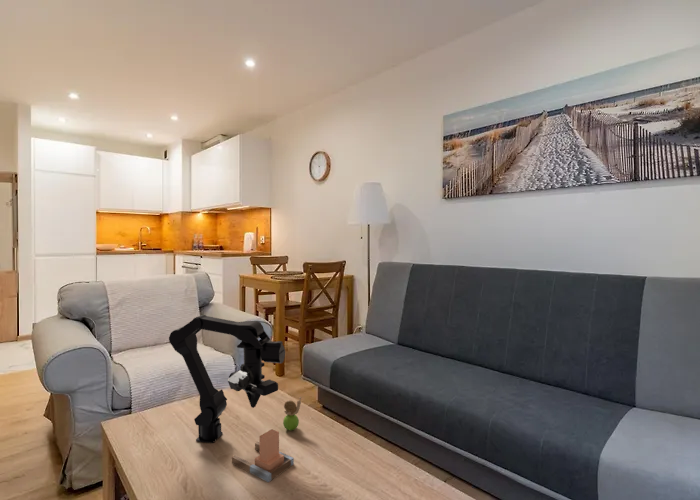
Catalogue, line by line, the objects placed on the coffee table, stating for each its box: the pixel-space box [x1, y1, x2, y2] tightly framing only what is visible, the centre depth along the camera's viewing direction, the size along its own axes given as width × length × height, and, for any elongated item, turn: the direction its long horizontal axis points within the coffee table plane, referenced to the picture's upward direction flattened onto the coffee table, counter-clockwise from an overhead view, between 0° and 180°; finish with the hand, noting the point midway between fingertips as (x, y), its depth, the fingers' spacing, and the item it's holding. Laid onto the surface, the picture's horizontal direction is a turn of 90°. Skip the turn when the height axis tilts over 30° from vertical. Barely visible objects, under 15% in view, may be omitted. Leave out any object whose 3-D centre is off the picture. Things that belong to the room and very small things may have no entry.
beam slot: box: [231, 441, 295, 483], centre depth 122 cm, size 16×10×2 cm
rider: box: [254, 429, 284, 472], centre depth 120 cm, size 6×6×10 cm
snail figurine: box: [282, 396, 302, 431], centre depth 142 cm, size 5×6×12 cm
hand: (253, 407), depth 133 cm, fingers closed
